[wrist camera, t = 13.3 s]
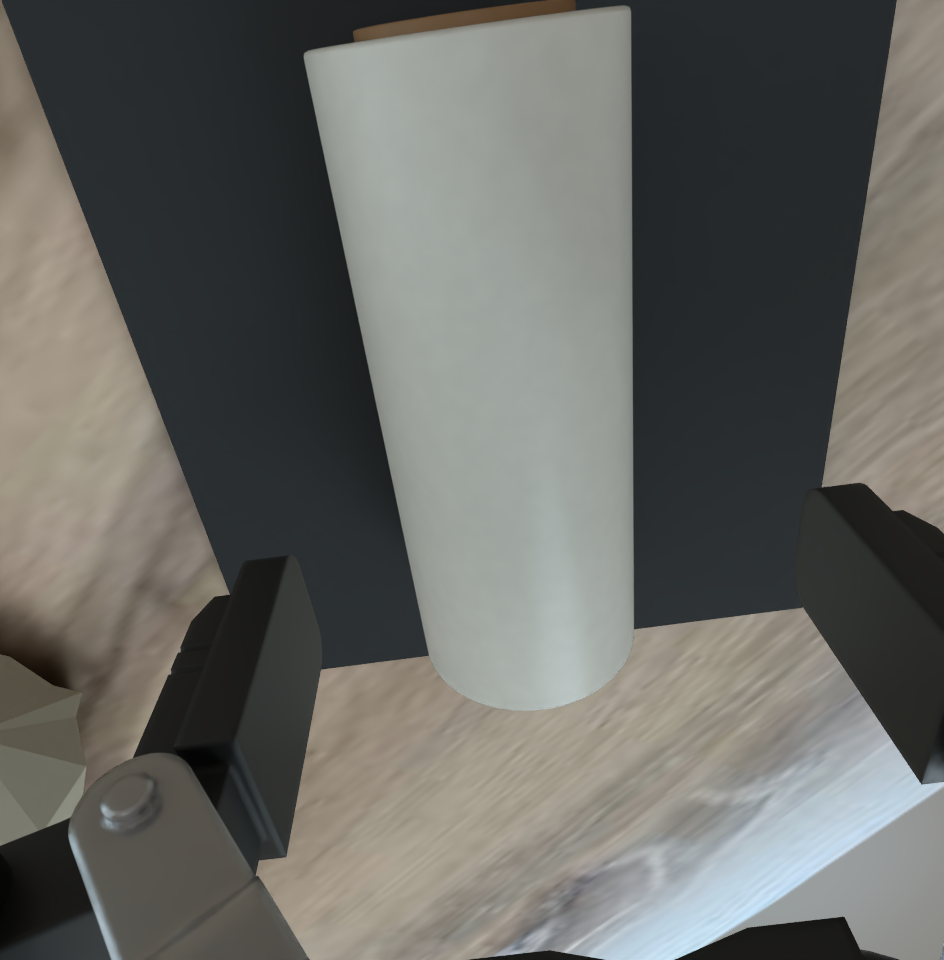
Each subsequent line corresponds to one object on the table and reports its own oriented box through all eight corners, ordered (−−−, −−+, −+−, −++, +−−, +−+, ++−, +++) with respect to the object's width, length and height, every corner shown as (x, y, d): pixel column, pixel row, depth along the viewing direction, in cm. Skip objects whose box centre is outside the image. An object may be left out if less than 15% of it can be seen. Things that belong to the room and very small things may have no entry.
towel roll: (603, -1, 14) (665, -21, 10) (615, 562, 22) (653, 708, 17) (330, 38, 15) (261, 38, 10) (433, 579, 22) (421, 726, 18)
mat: (795, 596, 24) (803, 608, 24) (264, 664, 24) (261, 678, 24) (911, -205, 14) (931, -215, 13) (-12, -69, 14) (-29, -74, 13)
